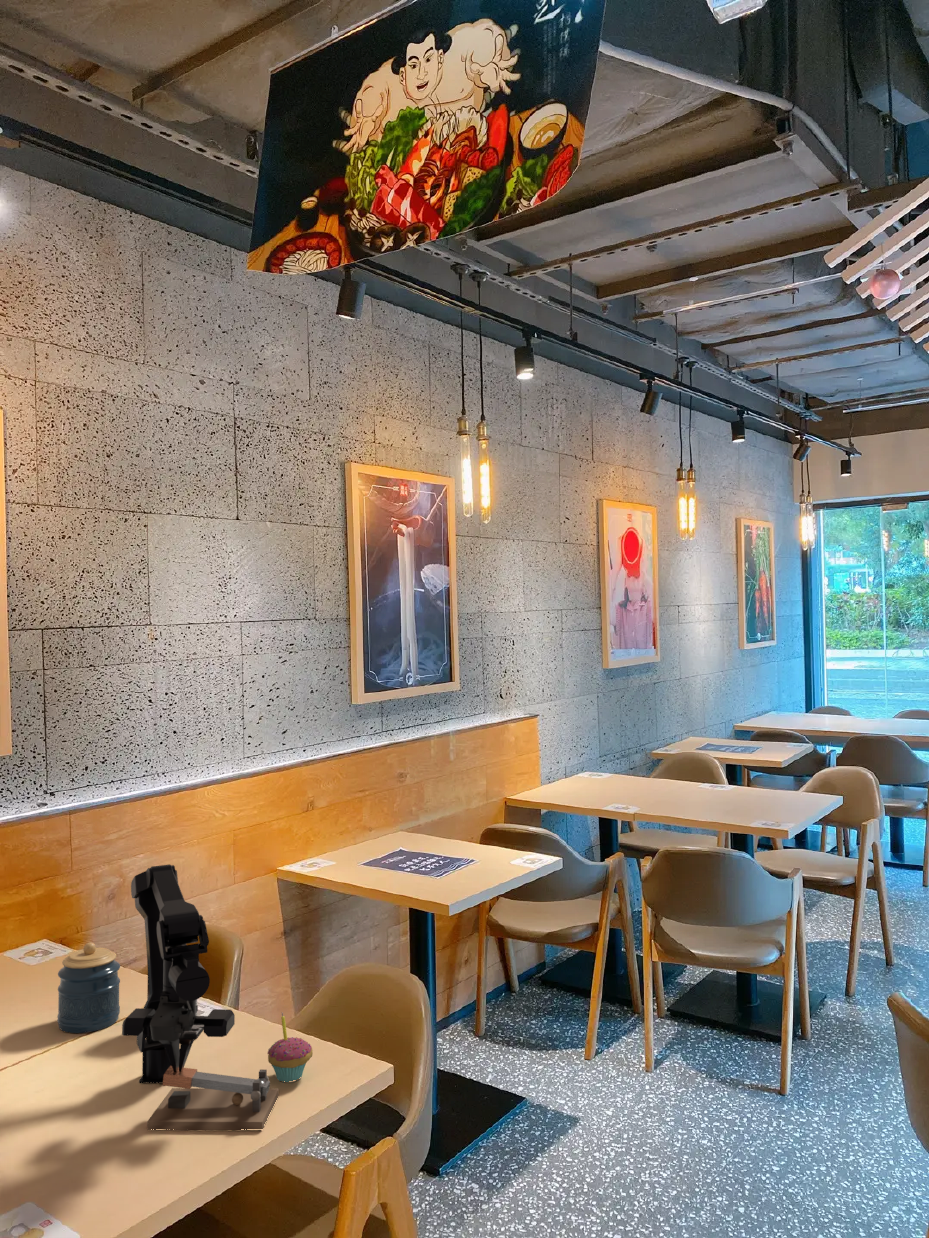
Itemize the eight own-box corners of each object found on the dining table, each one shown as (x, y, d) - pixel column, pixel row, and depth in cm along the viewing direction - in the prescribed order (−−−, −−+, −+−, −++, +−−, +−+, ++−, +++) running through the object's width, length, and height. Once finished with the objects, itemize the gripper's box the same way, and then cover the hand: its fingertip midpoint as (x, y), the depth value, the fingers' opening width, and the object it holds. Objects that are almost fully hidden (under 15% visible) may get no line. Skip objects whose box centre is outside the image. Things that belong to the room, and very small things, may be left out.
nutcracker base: (147, 1129, 155) (147, 1091, 155) (171, 1096, 167) (172, 1060, 167) (262, 1130, 154) (262, 1092, 155) (278, 1096, 166) (278, 1061, 167)
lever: (162, 1086, 160) (164, 1072, 160) (168, 1077, 163) (170, 1064, 163) (264, 1099, 159) (266, 1085, 159) (269, 1090, 162) (271, 1077, 162)
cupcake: (258, 1081, 173) (258, 1017, 173) (286, 1063, 180) (286, 1002, 181) (293, 1091, 169) (293, 1025, 169) (321, 1072, 176) (321, 1010, 177)
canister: (132, 1018, 204) (132, 939, 205) (81, 1039, 193) (81, 955, 194) (96, 1007, 211) (96, 930, 212) (44, 1026, 200) (45, 945, 201)
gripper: (109, 998, 154) (108, 1091, 153) (217, 999, 154) (216, 1093, 153) (135, 975, 165) (134, 1062, 165) (235, 976, 165) (234, 1063, 164)
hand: (178, 1070), depth 161 cm, fingers closed
